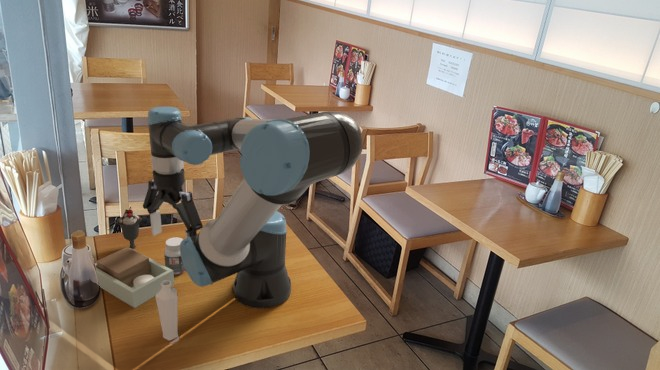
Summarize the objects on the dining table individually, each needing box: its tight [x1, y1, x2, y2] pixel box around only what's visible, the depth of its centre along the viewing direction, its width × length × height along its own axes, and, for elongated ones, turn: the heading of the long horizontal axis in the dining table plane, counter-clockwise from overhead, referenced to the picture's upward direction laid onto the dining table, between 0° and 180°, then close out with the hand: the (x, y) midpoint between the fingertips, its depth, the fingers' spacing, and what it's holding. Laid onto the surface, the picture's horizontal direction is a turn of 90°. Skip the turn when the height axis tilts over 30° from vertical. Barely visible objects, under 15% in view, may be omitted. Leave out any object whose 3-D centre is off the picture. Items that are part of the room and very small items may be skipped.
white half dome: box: [133, 275, 154, 289], centre depth 118 cm, size 5×5×3 cm
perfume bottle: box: [155, 281, 180, 345], centre depth 102 cm, size 5×4×15 cm
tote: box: [94, 248, 175, 309], centre depth 121 cm, size 18×12×6 cm, turn 58°
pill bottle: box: [163, 236, 187, 277], centre depth 126 cm, size 6×6×10 cm
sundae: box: [116, 206, 143, 250], centre depth 134 cm, size 7×7×15 cm
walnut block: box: [95, 246, 151, 288], centre depth 122 cm, size 9×9×6 cm
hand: (173, 241), depth 125 cm, fingers open, 13 cm apart
